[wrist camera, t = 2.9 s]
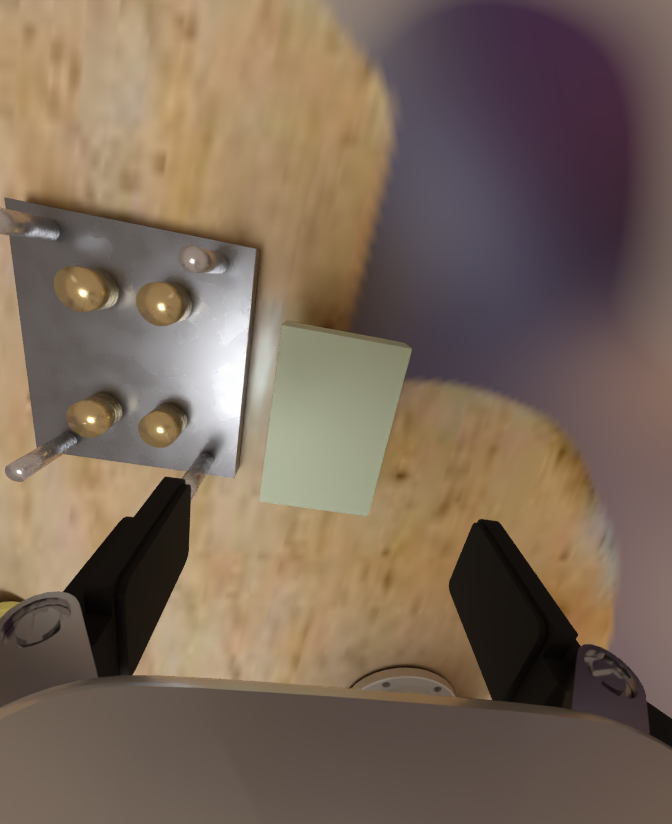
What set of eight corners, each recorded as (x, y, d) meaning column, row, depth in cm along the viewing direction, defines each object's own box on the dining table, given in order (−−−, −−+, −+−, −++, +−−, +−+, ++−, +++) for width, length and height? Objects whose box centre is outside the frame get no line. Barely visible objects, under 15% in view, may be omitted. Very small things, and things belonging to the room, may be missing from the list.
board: (404, 342, 21) (412, 348, 19) (364, 498, 24) (367, 516, 23) (285, 320, 20) (281, 324, 18) (264, 484, 24) (259, 501, 22)
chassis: (260, 250, 22) (238, 241, 17) (238, 467, 28) (217, 515, 22) (26, 202, 21) (-84, 175, 15) (52, 441, 26) (-21, 484, 21)
